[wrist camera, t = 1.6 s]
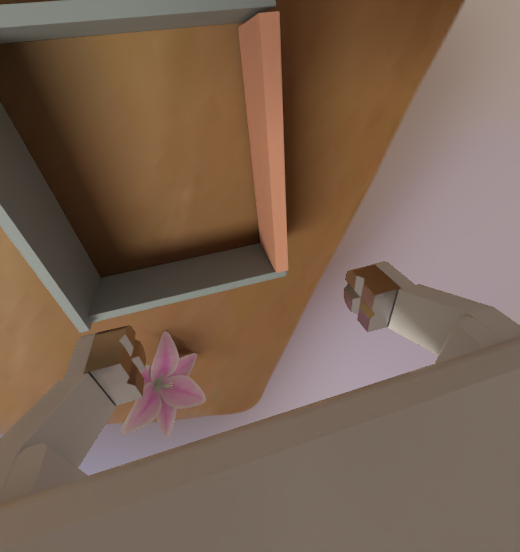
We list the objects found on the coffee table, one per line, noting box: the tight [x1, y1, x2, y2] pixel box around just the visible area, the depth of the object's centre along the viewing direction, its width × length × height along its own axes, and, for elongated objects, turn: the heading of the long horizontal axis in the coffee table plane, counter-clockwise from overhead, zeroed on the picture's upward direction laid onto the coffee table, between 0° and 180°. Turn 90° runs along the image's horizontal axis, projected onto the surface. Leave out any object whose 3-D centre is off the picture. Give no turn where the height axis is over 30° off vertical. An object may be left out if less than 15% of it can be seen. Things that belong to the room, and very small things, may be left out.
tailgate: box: [238, 11, 288, 273], centre depth 23 cm, size 18×1×6 cm, turn 6°
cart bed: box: [0, 0, 286, 333], centre depth 22 cm, size 21×20×7 cm
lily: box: [121, 331, 206, 438], centre depth 36 cm, size 12×12×10 cm
